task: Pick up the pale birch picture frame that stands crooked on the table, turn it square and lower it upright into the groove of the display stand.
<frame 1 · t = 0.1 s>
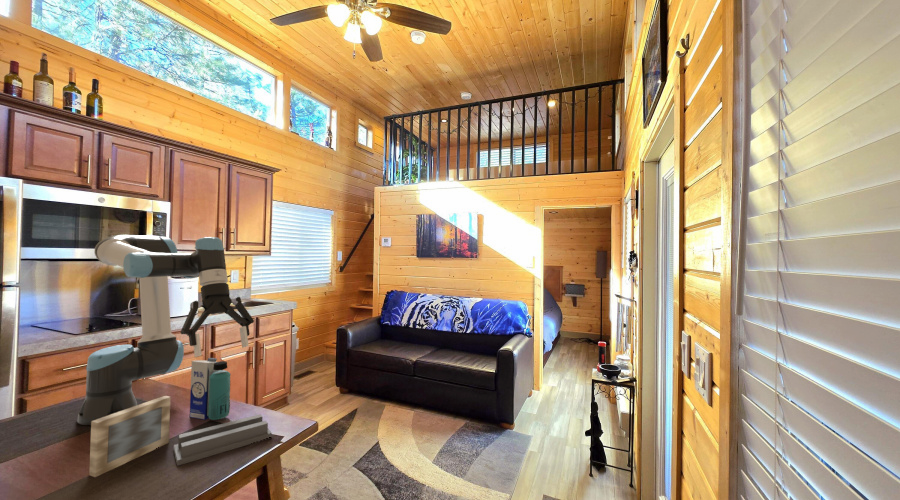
hand: (223, 351, 111), 28 cm above the table, tool tilted 20°, fingers open, 13 cm apart
picture frame: (132, 457, 101), on the table
milk carton: (205, 415, 128), on the table
display stand: (224, 443, 110), on the table
beverage bottle: (218, 420, 125), on the table
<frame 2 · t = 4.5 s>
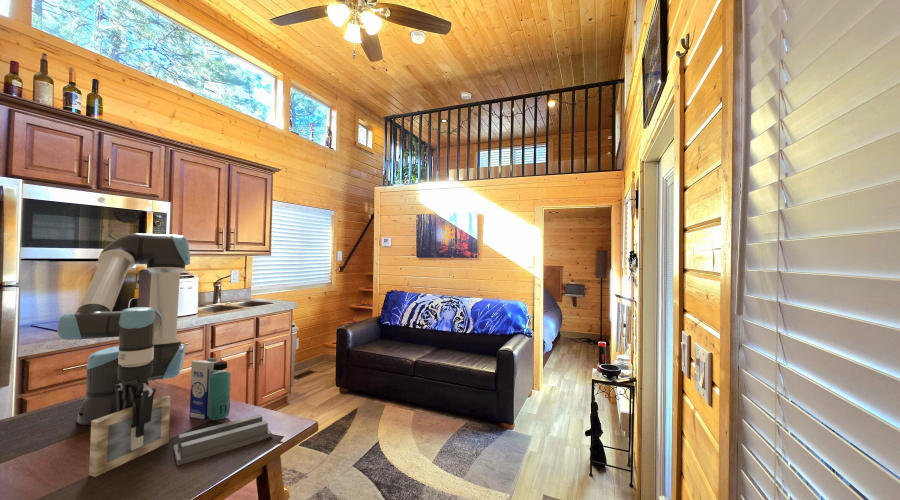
hand: (132, 446, 101), 3 cm above the table, tool pointing down, fingers closed on picture frame, 3 cm apart
picture frame: (132, 457, 101), on the table, touching gripper
everything else where it was.
when the fingers open (6 cm above the table, at t = 10.4 s): picture frame drops 1 cm, resting on display stand.
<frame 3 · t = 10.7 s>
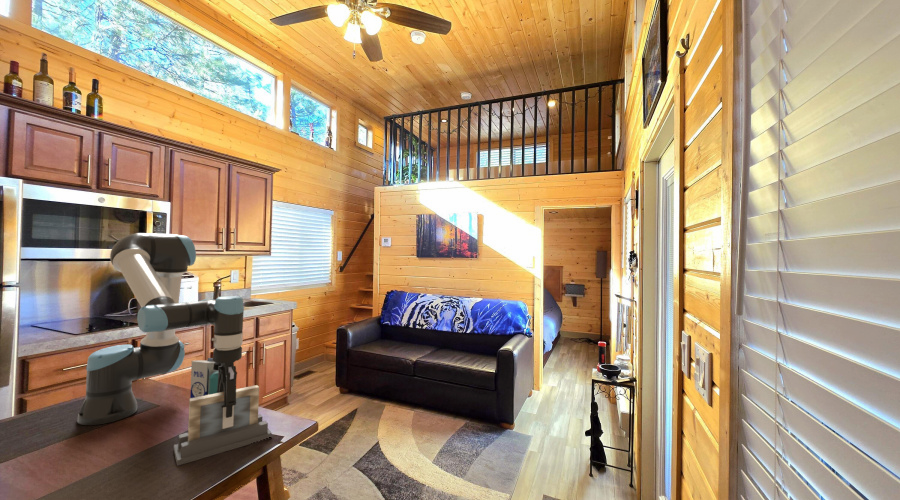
hand: (225, 422, 110), 6 cm above the table, tool pointing down, fingers open, 7 cm apart
picture frame: (224, 438, 110), point 2 cm above the table, touching display stand
everything else where it was.
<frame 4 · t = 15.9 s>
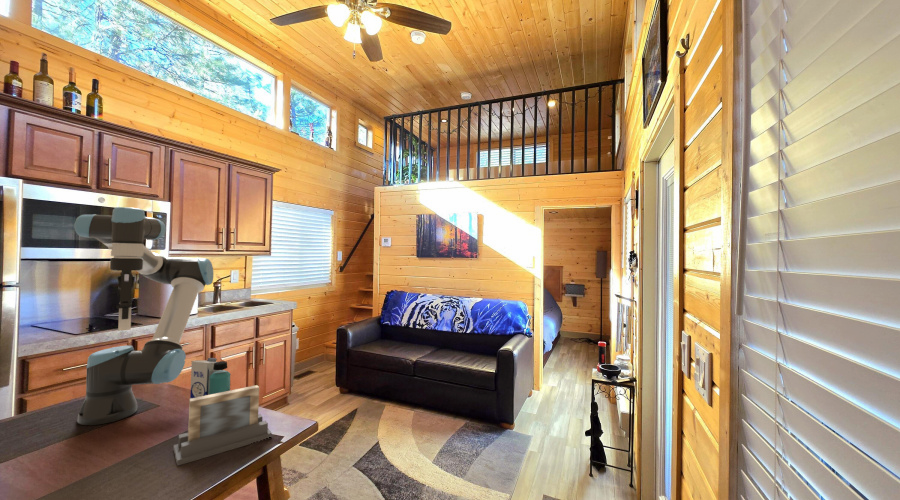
hand: (124, 326, 111), 35 cm above the table, tool pointing down, fingers open, 13 cm apart
nothing on the table moved.
at the end: picture frame inside the target area on the display stand (0.2 cm from its centre), point 1.5 cm above the display stand's base; picture frame tilted 0°; the gripper is holding nothing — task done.
